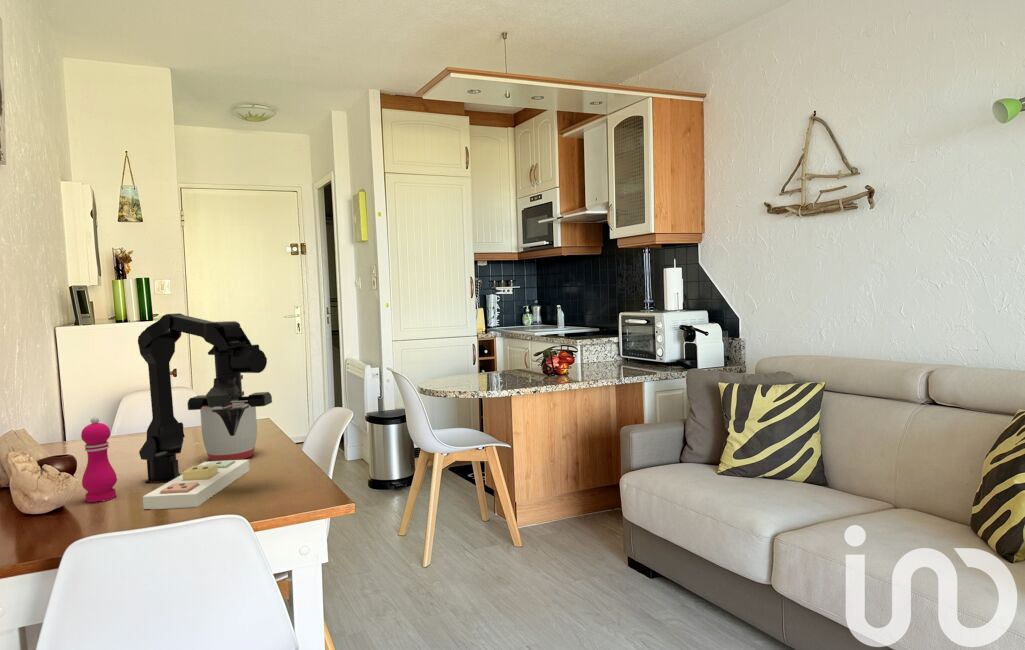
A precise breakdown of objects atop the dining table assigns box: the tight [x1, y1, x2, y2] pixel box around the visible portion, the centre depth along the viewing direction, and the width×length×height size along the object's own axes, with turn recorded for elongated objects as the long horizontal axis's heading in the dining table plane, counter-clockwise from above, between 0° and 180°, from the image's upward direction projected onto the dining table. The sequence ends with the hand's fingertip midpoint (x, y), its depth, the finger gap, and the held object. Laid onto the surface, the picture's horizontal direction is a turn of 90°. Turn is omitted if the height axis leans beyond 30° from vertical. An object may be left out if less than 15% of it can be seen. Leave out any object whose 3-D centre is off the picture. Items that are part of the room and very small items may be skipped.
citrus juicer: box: [200, 404, 258, 461], centre depth 204 cm, size 16×17×20 cm
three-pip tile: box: [160, 482, 199, 494], centre depth 160 cm, size 6×6×2 cm
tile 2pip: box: [181, 465, 218, 481], centre depth 171 cm, size 6×6×2 cm
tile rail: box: [142, 459, 250, 510], centre depth 171 cm, size 12×32×3 cm, turn 1°
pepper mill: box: [80, 416, 118, 503], centre depth 165 cm, size 7×7×20 cm
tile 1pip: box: [207, 460, 235, 468], centre depth 182 cm, size 6×6×2 cm
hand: (232, 435), depth 170 cm, fingers closed
